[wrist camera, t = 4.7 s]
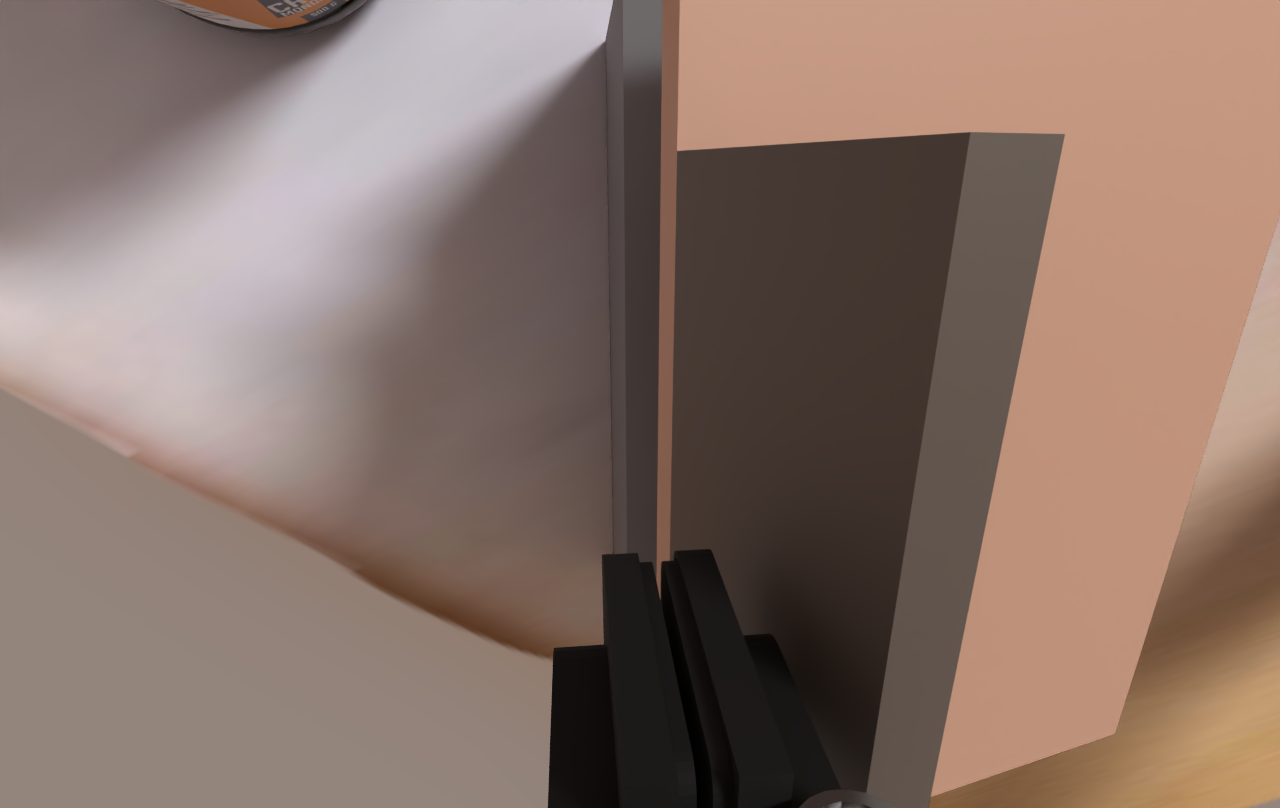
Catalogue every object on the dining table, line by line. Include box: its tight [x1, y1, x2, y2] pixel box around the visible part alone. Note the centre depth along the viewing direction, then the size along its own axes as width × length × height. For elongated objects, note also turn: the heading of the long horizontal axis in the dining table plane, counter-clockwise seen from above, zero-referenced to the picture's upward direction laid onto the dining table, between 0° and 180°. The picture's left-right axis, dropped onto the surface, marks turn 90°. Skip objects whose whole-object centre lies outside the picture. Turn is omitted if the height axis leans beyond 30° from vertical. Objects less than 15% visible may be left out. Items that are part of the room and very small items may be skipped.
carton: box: [605, 0, 663, 579], centre depth 23 cm, size 16×22×10 cm
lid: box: [656, 0, 1280, 808], centre depth 13 cm, size 16×22×7 cm
